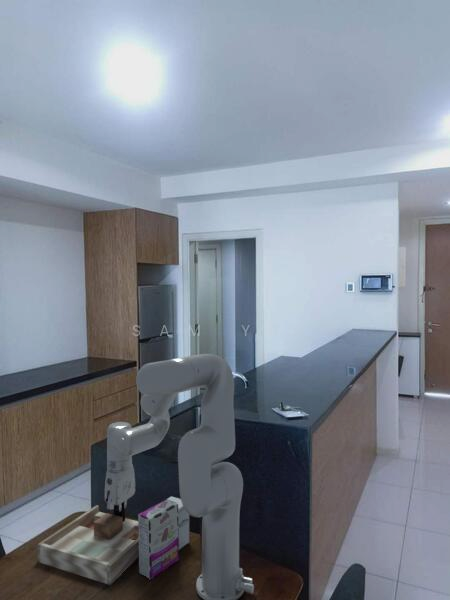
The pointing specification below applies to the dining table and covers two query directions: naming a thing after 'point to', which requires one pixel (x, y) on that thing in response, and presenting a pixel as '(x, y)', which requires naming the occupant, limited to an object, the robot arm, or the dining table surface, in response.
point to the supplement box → (182, 522)
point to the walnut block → (108, 526)
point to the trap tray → (91, 549)
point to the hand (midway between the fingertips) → (119, 521)
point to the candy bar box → (158, 538)
